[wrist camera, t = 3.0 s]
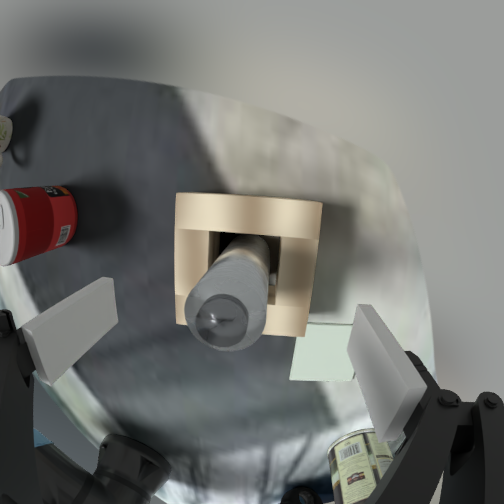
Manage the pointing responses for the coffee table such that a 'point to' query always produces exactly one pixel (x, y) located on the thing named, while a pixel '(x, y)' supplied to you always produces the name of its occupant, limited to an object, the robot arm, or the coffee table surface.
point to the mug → (4, 134)
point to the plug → (232, 296)
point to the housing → (251, 222)
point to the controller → (291, 498)
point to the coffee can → (357, 465)
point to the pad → (323, 354)
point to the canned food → (35, 221)
